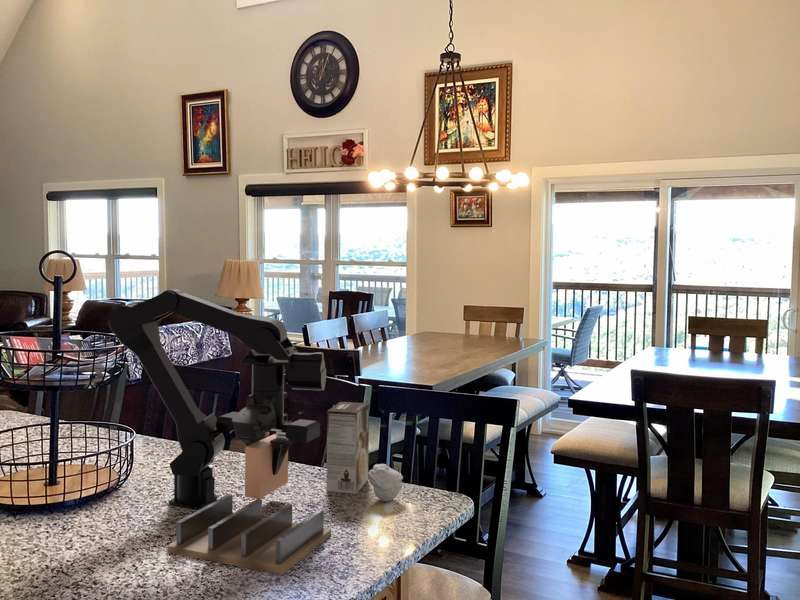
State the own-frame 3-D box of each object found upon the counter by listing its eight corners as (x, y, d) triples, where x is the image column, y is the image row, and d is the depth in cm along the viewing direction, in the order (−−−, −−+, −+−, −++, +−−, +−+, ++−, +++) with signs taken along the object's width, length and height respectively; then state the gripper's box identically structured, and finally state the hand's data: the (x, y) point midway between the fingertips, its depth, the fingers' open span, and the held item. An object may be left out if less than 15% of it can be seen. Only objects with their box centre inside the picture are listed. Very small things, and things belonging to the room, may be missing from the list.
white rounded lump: (362, 497, 137) (363, 461, 137) (397, 493, 139) (398, 458, 139) (371, 508, 131) (372, 470, 131) (407, 504, 134) (408, 467, 133)
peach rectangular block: (244, 496, 127) (245, 446, 127) (273, 480, 137) (274, 434, 136) (259, 499, 126) (260, 448, 126) (287, 482, 136) (288, 435, 135)
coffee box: (338, 477, 149) (340, 400, 148) (368, 480, 147) (370, 402, 146) (325, 491, 140) (326, 410, 139) (357, 494, 138) (358, 412, 137)
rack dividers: (176, 544, 111) (176, 522, 111) (228, 514, 124) (228, 494, 124) (280, 564, 105) (280, 540, 104) (323, 530, 118) (323, 509, 117)
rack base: (167, 552, 110) (167, 545, 110) (227, 517, 125) (227, 511, 125) (282, 575, 103) (282, 568, 103) (331, 535, 118) (331, 529, 118)
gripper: (197, 391, 126) (197, 479, 127) (291, 401, 120) (290, 493, 121) (233, 381, 136) (232, 462, 137) (321, 390, 130) (320, 475, 131)
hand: (267, 473), depth 131 cm, fingers closed on peach rectangular block, 3 cm apart
